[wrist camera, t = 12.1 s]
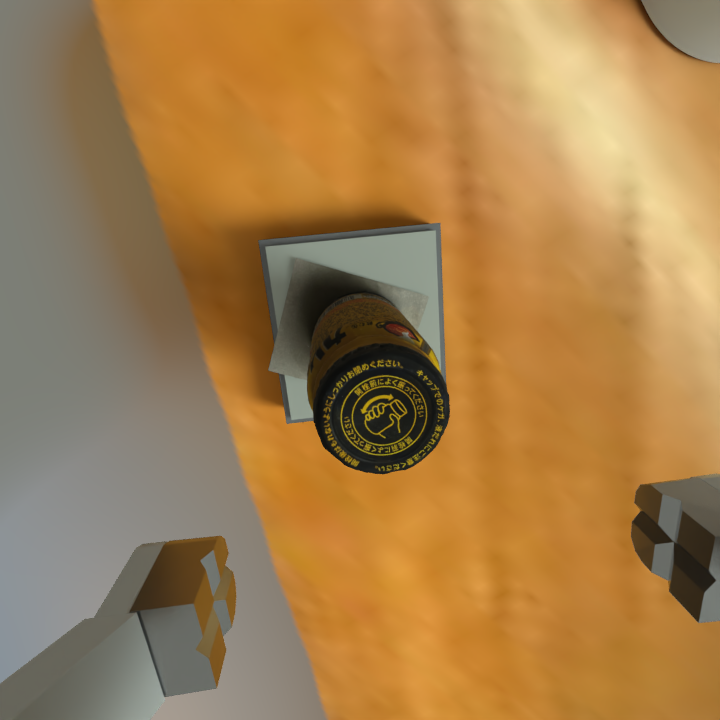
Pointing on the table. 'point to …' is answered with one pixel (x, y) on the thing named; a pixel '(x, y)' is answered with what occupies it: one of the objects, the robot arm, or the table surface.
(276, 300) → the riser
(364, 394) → the condiment
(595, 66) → the table surface
